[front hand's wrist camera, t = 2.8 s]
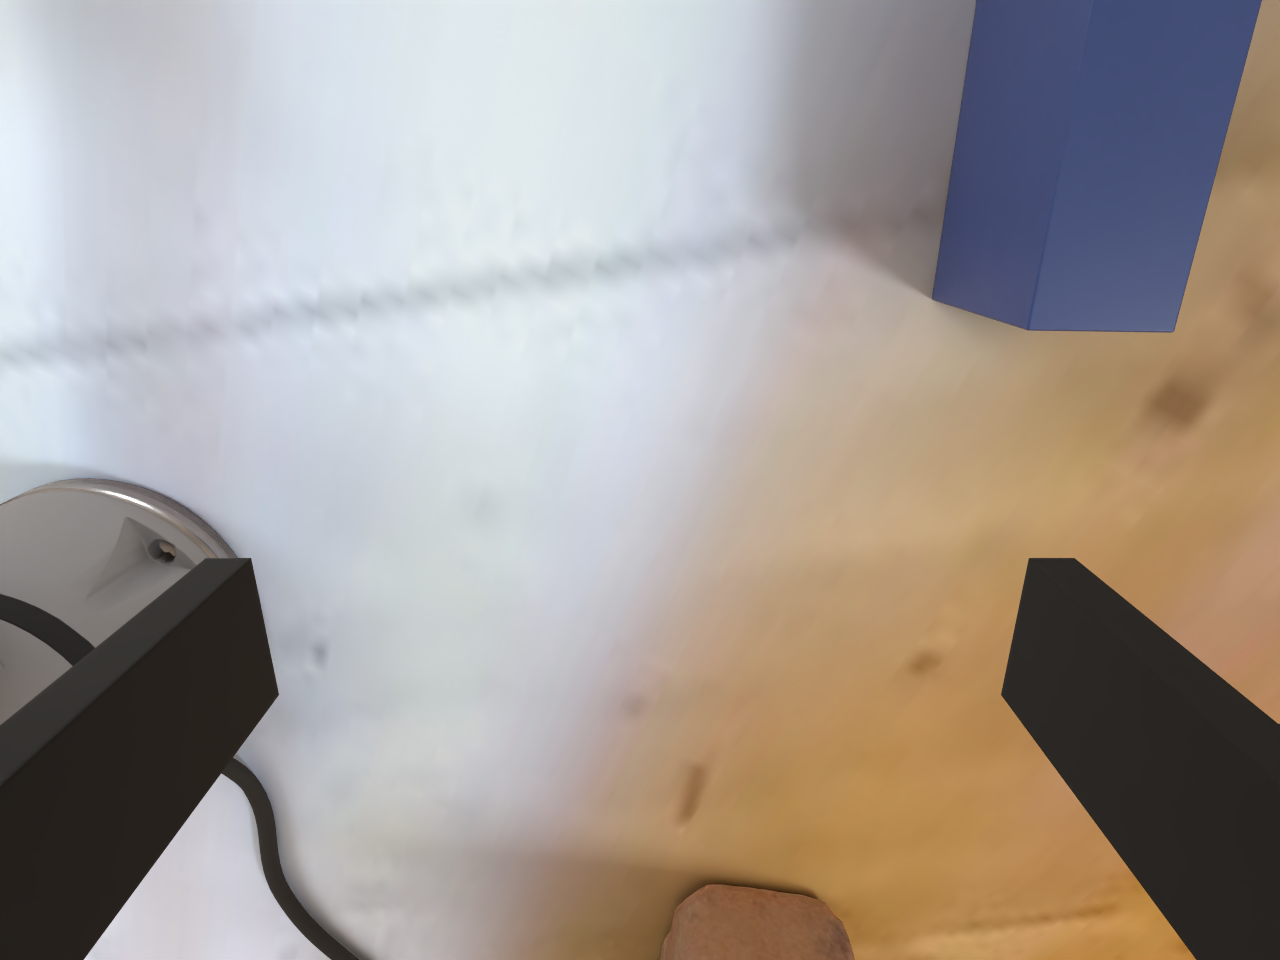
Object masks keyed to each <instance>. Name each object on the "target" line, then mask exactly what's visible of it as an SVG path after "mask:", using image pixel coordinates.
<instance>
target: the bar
mask: <svg viewBox="0 0 1280 960" xmlns="http://www.w3.org/2000/svg"><path fill="white" fill-rule="evenodd" d="M1261 1H1262V0H977V2H976V9H975V16H974V22H973V29H972V36H971V42H970V49H969V56H968V62H967V69H966V76H965V82H964V89H963V96H962V102H961V109H960V116H959V122H958V129H957V136H956V142H955V149H954V156H953V162H952V169H951V176H950V182H949V189H948V196H947V203H946V209H945V216H944V223H943V229H942V236H941V243H940V249H939V256H938V263H937V269H936V276H935V283H934V289H933V296H932V300H935V301H938V302H941V303H944V304H947V305H950V306H954V307H957V308H960V309H963V310H966V311H969V312H972V313H975V314H979V315H982V316H985V317H988V318H991V319H994V320H997V321H1000V322H1004V323H1007V324H1010V325H1013V326H1016V327H1019V328H1022V329H1026V330H1039V331H1106V332H1174V329H1175V325H1176V322H1177V318H1178V314H1179V310H1180V307H1181V303H1182V299H1183V295H1184V291H1185V288H1186V284H1187V280H1188V276H1189V273H1190V269H1191V265H1192V261H1193V258H1194V254H1195V250H1196V246H1197V242H1198V239H1199V235H1200V231H1201V227H1202V224H1203V220H1204V216H1205V212H1206V209H1207V205H1208V201H1209V197H1210V193H1211V190H1212V186H1213V182H1214V178H1215V175H1216V171H1217V167H1218V163H1219V160H1220V156H1221V152H1222V148H1223V145H1224V141H1225V137H1226V133H1227V129H1228V126H1229V122H1230V118H1231V114H1232V111H1233V107H1234V103H1235V99H1236V96H1237V92H1238V88H1239V84H1240V80H1241V77H1242V73H1243V69H1244V65H1245V62H1246V58H1247V54H1248V50H1249V47H1250V43H1251V39H1252V35H1253V31H1254V28H1255V24H1256V20H1257V16H1258V13H1259V9H1260V5H1261Z"/></svg>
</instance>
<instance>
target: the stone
mask: <svg viewBox="0 0 1280 960" xmlns="http://www.w3.org/2000/svg"><path fill="white" fill-rule="evenodd" d="M659 960H855V959H854V955H853V951H852V948H851V944H850V941H849V938H848V935H847V933H846V930H845V928H844V925H843V923H842V921H841V920H839V919H838V918H837V917H836V916H835V915H834V914H833V913H832V911H831V910H830V909H829V907H828V906H827V905H826V903H824V902H822V901H820V900H817V899H814V898H811V897H808V896H804V895H799V894H790V893H783V892H776V891H771V890H765V889H756V888H750V887H739V886H730V885H723V884H708V885H706V886H704V887H702V888H700V889H698V890H697V891H696V892H694V893H693V894H692V895H690V896H689V897H688V898H686V899H685V900H684V901H683V902H682V903H681V904H680V905H678V906H677V908H676V909H675V910H674V914H673V920H672V926H671V930H670V932H669V933H668V935H667V936H666V938H665V939H664V942H663V945H662V949H661V955H660V959H659Z"/></svg>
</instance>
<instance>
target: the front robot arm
mask: <svg viewBox="0 0 1280 960" xmlns="http://www.w3.org/2000/svg"><path fill="white" fill-rule="evenodd" d="M278 695H279V693H278V688H277V683H276V678H275V673H274V669H273V664H272V659H271V654H270V649H269V644H268V639H267V634H266V629H265V624H264V619H263V615H262V610H261V605H260V600H259V595H258V590H257V585H256V580H255V575H254V570H253V565H252V561H251V558H237V556H236V555H235V553H234V552H233V551H232V549H231V548H230V547H229V546H228V545H227V544H226V542H225V541H224V540H223V539H222V538H221V537H220V536H219V535H218V534H217V533H216V532H215V531H214V530H213V529H212V528H211V527H210V526H208V525H207V524H206V523H205V522H204V521H202V520H201V519H200V518H199V517H197V516H196V515H194V514H193V513H192V512H190V511H189V510H187V509H186V508H184V507H182V506H181V505H179V504H177V503H176V502H174V501H172V500H170V499H168V498H166V497H164V496H162V495H159V494H157V493H154V492H152V491H150V490H147V489H144V488H141V487H138V486H135V485H131V484H127V483H122V482H118V481H112V480H105V479H90V478H85V479H69V480H62V481H57V482H52V483H48V484H45V485H42V486H39V487H36V488H34V489H32V490H30V491H27V492H25V493H23V494H21V495H19V496H17V497H15V498H13V499H10V500H8V501H6V502H4V503H2V504H0V960H84V958H85V957H86V956H87V954H88V953H89V952H90V950H91V949H92V948H93V946H94V945H95V944H96V942H97V941H98V939H99V938H100V937H101V935H102V934H103V933H104V931H105V930H106V929H107V927H108V926H109V925H110V923H111V922H112V920H113V919H114V918H115V916H116V915H117V914H118V912H119V911H120V910H121V908H122V907H123V906H124V904H125V903H126V901H127V900H128V899H129V897H130V896H131V895H132V893H133V892H134V891H135V889H136V888H137V887H138V885H139V884H140V882H141V881H142V880H143V878H144V877H145V876H146V874H147V873H148V872H149V870H150V869H151V868H152V866H153V865H154V863H155V862H156V861H157V859H158V858H159V857H160V855H161V854H162V853H163V851H164V850H165V849H166V847H167V846H168V844H169V843H170V842H171V840H172V839H173V838H174V836H175V835H176V834H177V832H178V831H179V830H180V828H181V827H182V826H183V824H184V823H185V821H186V820H187V819H188V817H189V816H190V815H191V813H192V812H193V811H194V809H195V808H196V807H197V805H198V804H199V802H200V801H201V800H202V798H203V797H204V796H205V794H206V793H207V792H208V790H209V789H210V788H211V786H212V785H213V783H214V782H215V781H216V779H217V778H218V777H219V775H220V774H221V773H222V774H224V775H225V776H227V777H228V778H229V779H231V780H232V781H234V782H235V783H236V784H237V785H238V786H239V787H240V788H241V789H242V790H243V791H244V793H245V795H246V796H247V798H248V800H249V802H250V804H251V806H252V809H253V812H254V815H255V819H256V823H257V829H258V836H259V845H260V854H261V861H262V866H263V870H264V874H265V877H266V880H267V883H268V885H269V888H270V890H271V892H272V893H273V895H274V897H275V899H276V900H277V902H278V903H279V905H280V906H281V908H282V909H283V911H284V912H285V913H286V915H287V916H288V917H289V919H290V920H291V921H292V922H293V924H294V925H295V926H296V927H297V928H298V929H299V930H300V932H301V933H302V934H303V935H304V936H305V937H306V938H307V939H308V940H309V941H310V942H311V943H313V944H314V945H315V946H316V947H317V948H318V949H319V950H320V951H322V952H323V953H324V954H325V955H326V956H327V957H329V958H330V959H331V960H359V959H358V958H357V957H355V956H354V955H353V954H352V953H351V952H349V951H348V950H347V949H346V948H344V947H343V946H342V945H341V944H340V943H338V942H337V941H336V940H335V939H334V938H333V937H331V936H330V935H329V934H328V933H327V932H326V931H325V930H324V929H322V928H321V927H320V926H319V925H318V924H317V923H316V922H315V921H314V919H313V918H312V917H311V916H310V915H309V914H308V913H307V912H306V911H305V909H304V908H303V907H302V905H301V904H300V903H299V901H298V900H297V898H296V897H295V895H294V894H293V892H292V891H291V889H290V887H289V885H288V884H287V882H286V879H285V877H284V874H283V872H282V868H281V865H280V860H279V855H278V847H277V837H276V828H275V821H274V816H273V811H272V808H271V804H270V801H269V799H268V796H267V794H266V792H265V790H264V788H263V787H262V785H261V783H260V782H259V780H258V779H257V778H256V776H255V775H254V774H253V773H252V772H251V771H250V770H249V769H248V768H247V767H245V766H244V765H243V764H241V763H240V762H239V761H237V760H236V759H234V758H233V756H234V755H235V754H236V752H237V751H238V750H239V748H240V747H241V745H242V744H243V743H244V741H245V740H246V739H247V737H248V736H249V735H250V733H251V732H252V731H253V729H254V728H255V726H256V725H257V724H258V722H259V721H260V720H261V718H262V717H263V716H264V714H265V713H266V712H267V710H268V709H269V708H270V706H271V705H272V703H273V702H274V701H275V699H276V698H277V697H278ZM1001 695H1002V697H1003V698H1004V699H1005V701H1006V702H1007V703H1008V705H1009V706H1010V708H1011V709H1012V710H1013V712H1014V713H1015V714H1016V716H1017V717H1018V718H1019V720H1020V721H1021V722H1022V724H1023V725H1024V726H1025V728H1026V729H1027V731H1028V732H1029V733H1030V735H1031V736H1032V737H1033V739H1034V740H1035V741H1036V743H1037V744H1038V745H1039V747H1040V748H1041V750H1042V751H1043V752H1044V754H1045V755H1046V756H1047V758H1048V759H1049V760H1050V762H1051V763H1052V764H1053V766H1054V767H1055V769H1056V770H1057V771H1058V773H1059V774H1060V775H1061V777H1062V778H1063V779H1064V781H1065V782H1066V783H1067V785H1068V786H1069V788H1070V789H1071V790H1072V792H1073V793H1074V794H1075V796H1076V797H1077V798H1078V800H1079V801H1080V802H1081V804H1082V805H1083V807H1084V808H1085V809H1086V811H1087V812H1088V813H1089V815H1090V816H1091V817H1092V819H1093V820H1094V821H1095V823H1096V824H1097V826H1098V827H1099V828H1100V830H1101V831H1102V832H1103V834H1104V835H1105V836H1106V838H1107V839H1108V840H1109V842H1110V843H1111V844H1112V846H1113V847H1114V849H1115V850H1116V851H1117V853H1118V854H1119V855H1120V857H1121V858H1122V859H1123V861H1124V862H1125V863H1126V865H1127V866H1128V868H1129V869H1130V870H1131V872H1132V873H1133V874H1134V876H1135V877H1136V878H1137V880H1138V881H1139V882H1140V884H1141V885H1142V887H1143V888H1144V889H1145V891H1146V892H1147V893H1148V895H1149V896H1150V897H1151V899H1152V900H1153V901H1154V903H1155V904H1156V906H1157V907H1158V908H1159V910H1160V911H1161V912H1162V914H1163V915H1164V916H1165V918H1166V919H1167V920H1168V922H1169V923H1170V925H1171V926H1172V927H1173V929H1174V930H1175V931H1176V933H1177V934H1178V935H1179V937H1180V938H1181V939H1182V941H1183V942H1184V944H1185V945H1186V946H1187V948H1188V949H1189V950H1190V952H1191V953H1192V954H1193V956H1194V957H1195V958H1196V960H1280V724H1278V723H1276V722H1275V721H1274V720H1273V719H1271V718H1270V717H1269V716H1268V715H1267V714H1265V713H1264V712H1263V711H1262V710H1260V709H1259V708H1258V707H1257V706H1255V705H1254V704H1253V703H1252V702H1251V701H1249V700H1248V699H1247V698H1246V697H1244V696H1243V695H1242V694H1241V693H1240V692H1238V691H1237V690H1236V689H1235V688H1233V687H1232V686H1231V685H1230V684H1228V683H1227V682H1226V681H1225V680H1224V679H1222V678H1221V677H1220V676H1219V675H1217V674H1216V673H1215V672H1214V671H1212V670H1211V669H1210V668H1209V667H1208V666H1206V665H1205V664H1204V663H1203V662H1201V661H1200V660H1199V659H1198V658H1196V657H1195V656H1194V655H1193V654H1192V653H1190V652H1189V651H1188V650H1187V649H1185V648H1184V647H1183V646H1182V645H1180V644H1179V643H1178V642H1177V641H1176V640H1174V639H1173V638H1172V637H1171V636H1169V635H1168V634H1167V633H1166V632H1165V631H1163V630H1162V629H1161V628H1160V627H1158V626H1157V625H1156V624H1155V623H1153V622H1152V621H1151V620H1150V619H1149V618H1147V617H1146V616H1145V615H1144V614H1142V613H1141V612H1140V611H1139V610H1137V609H1136V608H1135V607H1134V606H1133V605H1131V604H1130V603H1129V602H1128V601H1126V600H1125V599H1124V598H1123V597H1121V596H1120V595H1119V594H1118V593H1117V592H1115V591H1114V590H1113V589H1112V588H1110V587H1109V586H1108V585H1107V584H1105V583H1104V582H1103V581H1102V580H1101V579H1099V578H1098V577H1097V576H1096V575H1094V574H1093V573H1092V572H1091V571H1089V570H1088V569H1087V568H1086V567H1085V566H1083V565H1082V564H1081V563H1080V562H1078V561H1077V560H1076V559H1075V558H1029V561H1028V565H1027V570H1026V575H1025V580H1024V585H1023V590H1022V595H1021V600H1020V605H1019V610H1018V615H1017V619H1016V624H1015V629H1014V634H1013V639H1012V644H1011V649H1010V654H1009V659H1008V664H1007V669H1006V673H1005V678H1004V683H1003V688H1002V693H1001Z"/></svg>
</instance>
